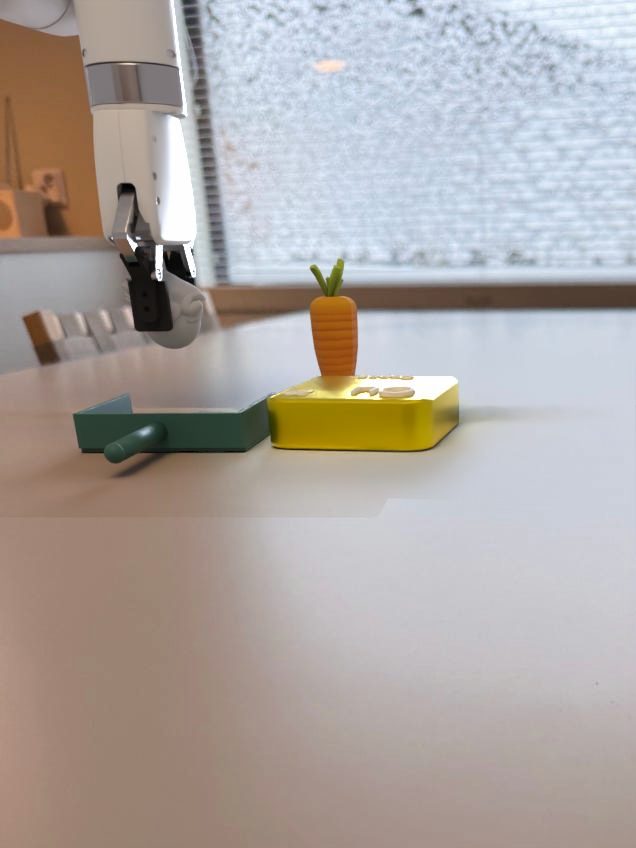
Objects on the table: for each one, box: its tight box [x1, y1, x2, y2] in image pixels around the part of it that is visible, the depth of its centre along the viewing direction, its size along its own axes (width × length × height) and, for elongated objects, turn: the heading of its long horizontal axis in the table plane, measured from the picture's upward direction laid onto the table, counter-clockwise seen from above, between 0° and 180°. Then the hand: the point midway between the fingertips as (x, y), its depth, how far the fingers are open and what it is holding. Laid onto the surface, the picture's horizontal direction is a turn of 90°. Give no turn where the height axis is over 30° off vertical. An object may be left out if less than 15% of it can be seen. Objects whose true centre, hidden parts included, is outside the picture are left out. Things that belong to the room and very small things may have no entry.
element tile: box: [267, 374, 460, 452], centre depth 88 cm, size 15×15×5 cm
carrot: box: [309, 258, 359, 376], centre depth 102 cm, size 5×5×15 cm
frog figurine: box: [121, 267, 207, 350], centre depth 84 cm, size 6×7×7 cm
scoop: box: [72, 392, 276, 465], centre depth 83 cm, size 21×15×3 cm
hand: (169, 325), depth 85 cm, fingers closed on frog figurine, 6 cm apart
